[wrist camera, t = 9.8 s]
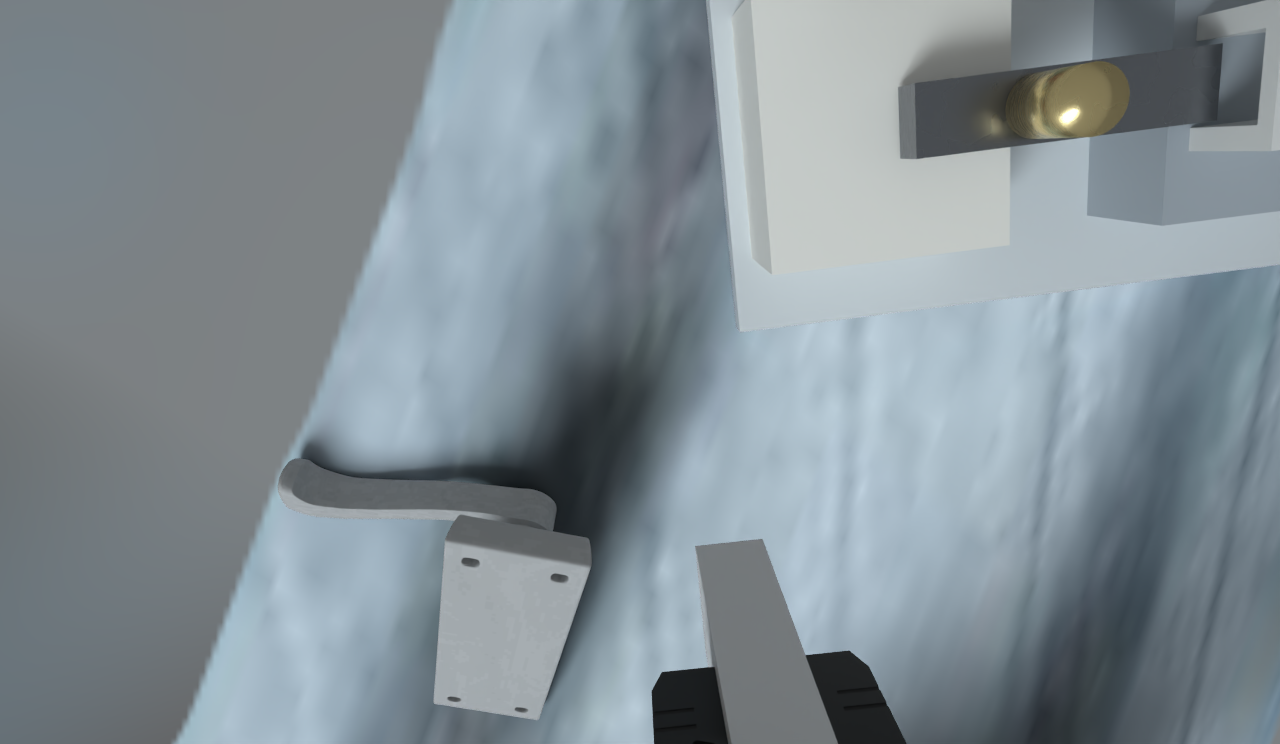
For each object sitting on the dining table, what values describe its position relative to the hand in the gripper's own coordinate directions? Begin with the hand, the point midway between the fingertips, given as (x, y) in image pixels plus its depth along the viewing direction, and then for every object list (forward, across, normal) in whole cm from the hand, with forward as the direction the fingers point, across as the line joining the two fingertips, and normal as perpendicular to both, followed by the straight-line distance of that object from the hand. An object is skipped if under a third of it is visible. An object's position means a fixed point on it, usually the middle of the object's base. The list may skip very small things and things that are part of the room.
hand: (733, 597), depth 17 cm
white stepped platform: (+28, -19, -11) cm, 35 cm away
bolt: (+20, -17, -10) cm, 28 cm away
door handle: (+29, +16, +13) cm, 35 cm away
